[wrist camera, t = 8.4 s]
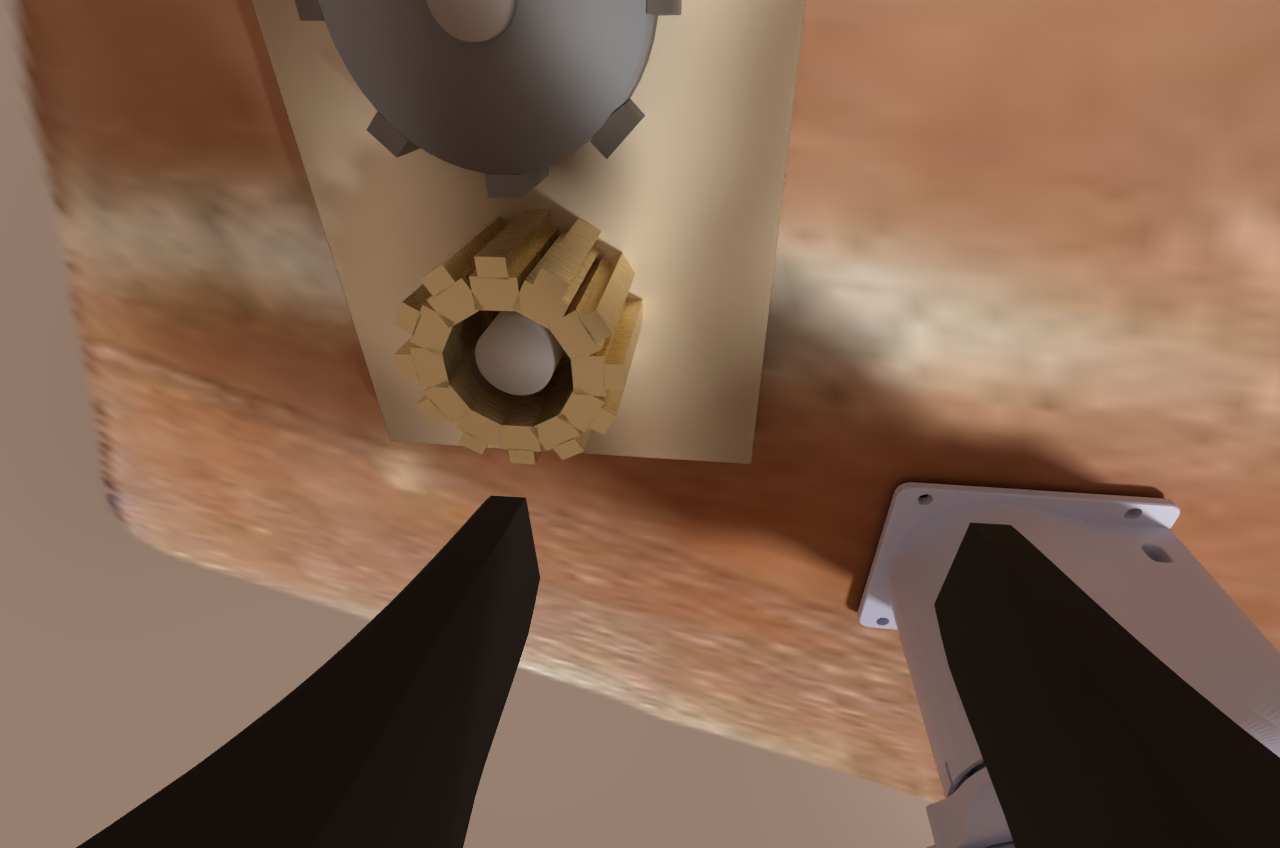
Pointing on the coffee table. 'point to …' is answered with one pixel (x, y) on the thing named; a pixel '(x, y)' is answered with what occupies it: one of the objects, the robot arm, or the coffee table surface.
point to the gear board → (556, 181)
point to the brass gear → (544, 292)
